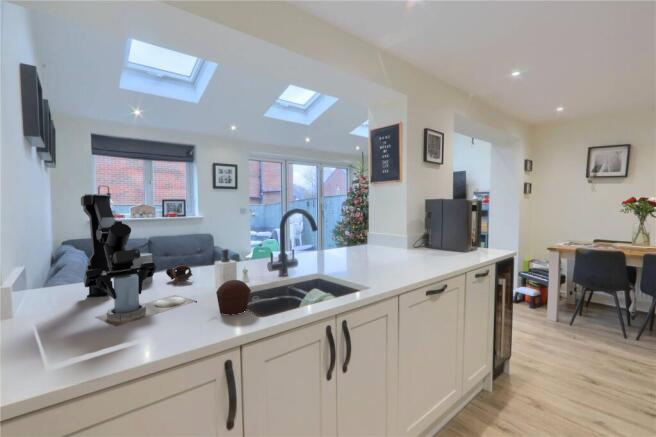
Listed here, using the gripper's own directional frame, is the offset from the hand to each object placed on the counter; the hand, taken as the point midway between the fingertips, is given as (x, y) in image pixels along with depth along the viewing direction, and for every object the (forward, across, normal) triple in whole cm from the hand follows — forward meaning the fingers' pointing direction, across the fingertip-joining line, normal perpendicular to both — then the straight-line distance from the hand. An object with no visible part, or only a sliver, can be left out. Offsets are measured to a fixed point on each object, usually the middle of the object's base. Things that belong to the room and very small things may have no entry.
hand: (128, 296), depth 93 cm
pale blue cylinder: (+4, 0, +5) cm, 6 cm away
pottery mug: (-19, +29, +30) cm, 46 cm away
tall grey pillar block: (-28, +17, +38) cm, 50 cm away
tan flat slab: (+3, +7, +7) cm, 10 cm away
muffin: (+17, +26, -6) cm, 32 cm away
